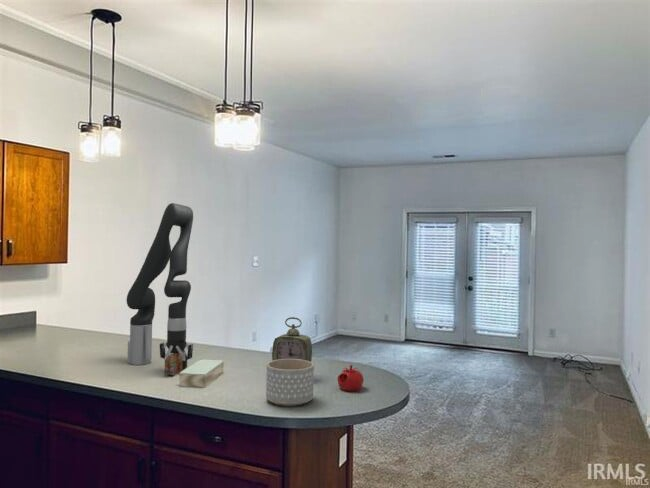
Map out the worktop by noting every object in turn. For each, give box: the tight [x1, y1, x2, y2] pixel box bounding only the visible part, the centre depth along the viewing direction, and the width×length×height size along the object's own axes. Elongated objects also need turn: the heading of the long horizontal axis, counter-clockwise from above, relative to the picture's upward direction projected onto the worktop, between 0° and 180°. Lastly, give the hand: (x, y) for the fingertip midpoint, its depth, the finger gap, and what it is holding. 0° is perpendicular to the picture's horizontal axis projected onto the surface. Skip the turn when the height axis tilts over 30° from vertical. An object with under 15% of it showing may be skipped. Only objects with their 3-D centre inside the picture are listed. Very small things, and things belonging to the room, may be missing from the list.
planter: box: [265, 359, 315, 407], centre depth 177 cm, size 16×16×13 cm
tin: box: [164, 353, 188, 376], centre depth 210 cm, size 15×3×8 cm, turn 168°
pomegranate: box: [337, 364, 364, 392], centre depth 192 cm, size 10×10×9 cm
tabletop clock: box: [271, 316, 313, 362], centre depth 204 cm, size 14×9×25 cm, turn 75°
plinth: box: [178, 359, 225, 388], centre depth 201 cm, size 10×22×5 cm, turn 173°
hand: (175, 368), depth 210 cm, fingers open, 6 cm apart
